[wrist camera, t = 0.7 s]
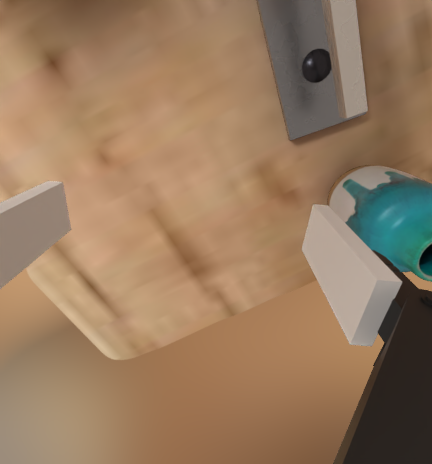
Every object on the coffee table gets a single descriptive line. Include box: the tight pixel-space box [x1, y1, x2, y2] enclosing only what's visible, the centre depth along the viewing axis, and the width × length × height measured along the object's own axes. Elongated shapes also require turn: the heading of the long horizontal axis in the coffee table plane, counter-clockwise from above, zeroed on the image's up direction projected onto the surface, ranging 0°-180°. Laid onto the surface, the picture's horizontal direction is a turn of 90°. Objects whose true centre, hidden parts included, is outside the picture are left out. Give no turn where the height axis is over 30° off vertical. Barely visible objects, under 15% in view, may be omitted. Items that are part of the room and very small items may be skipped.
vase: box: [327, 165, 432, 282], centre depth 32 cm, size 11×11×19 cm
